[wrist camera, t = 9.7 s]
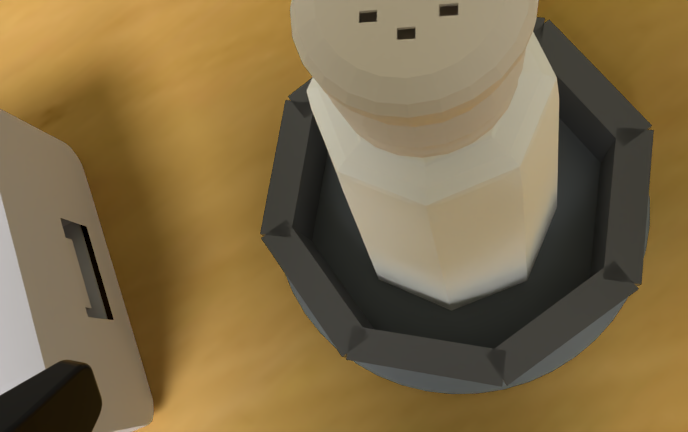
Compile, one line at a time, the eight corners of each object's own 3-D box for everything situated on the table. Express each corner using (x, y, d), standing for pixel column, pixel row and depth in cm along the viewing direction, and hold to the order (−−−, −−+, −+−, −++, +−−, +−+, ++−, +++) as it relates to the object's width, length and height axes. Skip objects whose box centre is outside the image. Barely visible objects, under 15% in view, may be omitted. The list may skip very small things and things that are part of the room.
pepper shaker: (355, 119, 19) (195, -189, 8) (552, 111, 18) (658, -258, 7) (349, 309, 18) (155, 233, 7) (559, 313, 17) (699, 230, 6)
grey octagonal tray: (656, 57, 18) (686, 5, 16) (626, 425, 16) (654, 437, 14) (314, 37, 20) (289, -11, 18) (255, 358, 19) (217, 358, 16)
